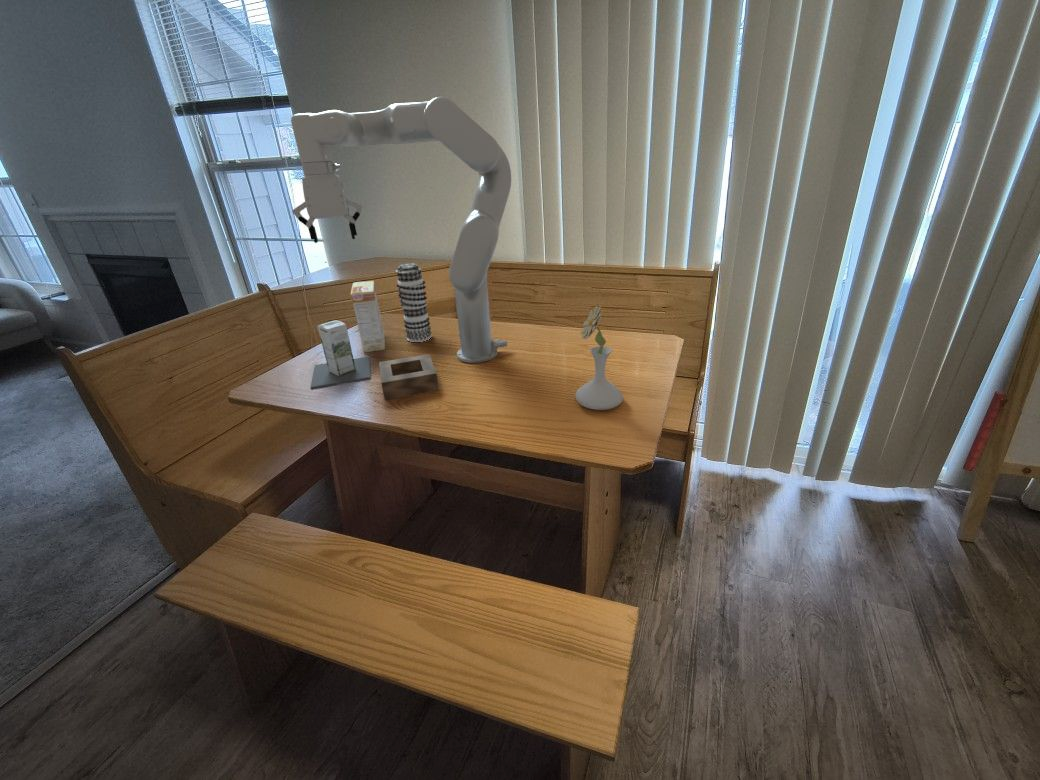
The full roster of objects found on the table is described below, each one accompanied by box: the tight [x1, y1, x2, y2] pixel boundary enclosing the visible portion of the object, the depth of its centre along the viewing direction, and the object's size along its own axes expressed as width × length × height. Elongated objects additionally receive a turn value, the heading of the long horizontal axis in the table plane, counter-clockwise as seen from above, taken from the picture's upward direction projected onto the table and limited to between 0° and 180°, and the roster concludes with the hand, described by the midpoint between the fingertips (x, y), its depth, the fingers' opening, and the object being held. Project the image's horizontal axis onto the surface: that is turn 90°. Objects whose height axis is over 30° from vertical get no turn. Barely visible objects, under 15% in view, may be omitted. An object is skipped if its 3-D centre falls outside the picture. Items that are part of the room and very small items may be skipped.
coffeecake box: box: [350, 280, 386, 353], centre depth 148 cm, size 15×7×20 cm, turn 15°
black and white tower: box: [395, 263, 433, 343], centre depth 149 cm, size 9×9×25 cm
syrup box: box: [317, 320, 356, 376], centre depth 129 cm, size 6×6×14 cm
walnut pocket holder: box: [378, 353, 440, 401], centre depth 122 cm, size 14×14×5 cm
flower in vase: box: [574, 305, 624, 411], centre depth 103 cm, size 13×11×25 cm
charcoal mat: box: [310, 356, 372, 390], centre depth 132 cm, size 16×16×1 cm
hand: (335, 240), depth 122 cm, fingers open, 9 cm apart
